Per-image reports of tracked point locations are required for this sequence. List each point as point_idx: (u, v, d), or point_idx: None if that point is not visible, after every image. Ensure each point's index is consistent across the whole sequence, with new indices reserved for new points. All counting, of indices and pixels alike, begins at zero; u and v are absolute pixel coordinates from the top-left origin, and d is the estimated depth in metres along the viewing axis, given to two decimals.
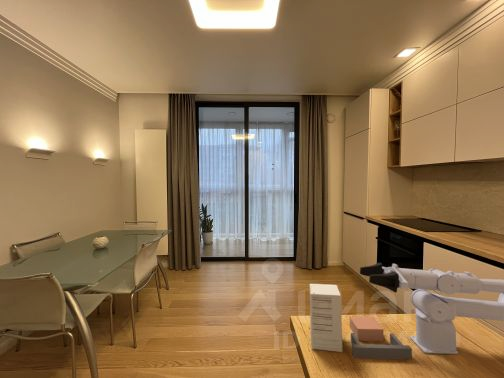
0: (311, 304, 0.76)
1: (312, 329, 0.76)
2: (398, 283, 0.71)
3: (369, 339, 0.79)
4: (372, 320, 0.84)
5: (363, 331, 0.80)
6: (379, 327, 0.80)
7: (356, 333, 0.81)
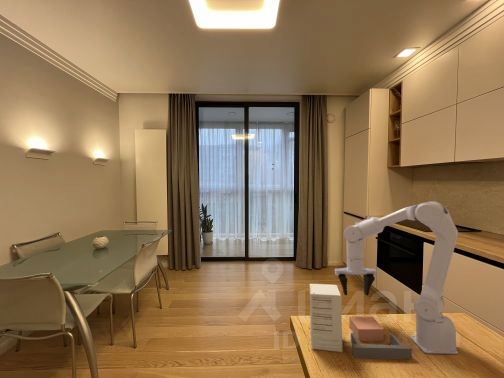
0: (311, 304, 0.76)
1: (312, 329, 0.76)
2: (338, 275, 0.93)
3: (369, 339, 0.79)
4: (371, 320, 0.85)
5: (363, 331, 0.79)
6: (379, 327, 0.80)
7: (356, 333, 0.81)
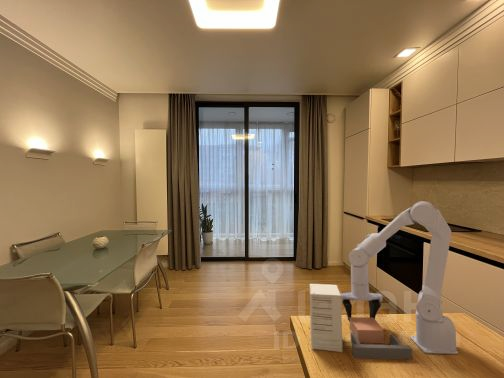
0: (311, 304, 0.76)
1: (312, 329, 0.76)
2: None
3: (369, 340, 0.78)
4: (372, 321, 0.83)
5: (363, 332, 0.79)
6: (380, 328, 0.79)
7: (356, 334, 0.80)
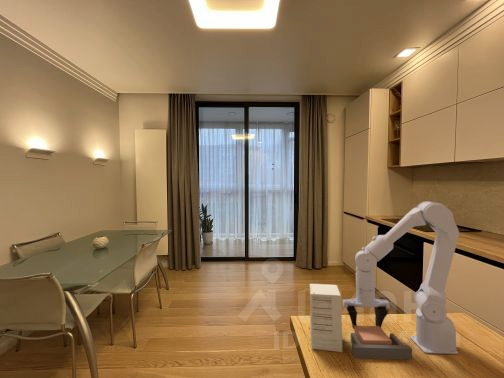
0: (311, 304, 0.76)
1: (312, 329, 0.76)
2: None
3: None
4: (378, 330, 0.79)
5: (369, 342, 0.74)
6: (387, 338, 0.74)
7: None
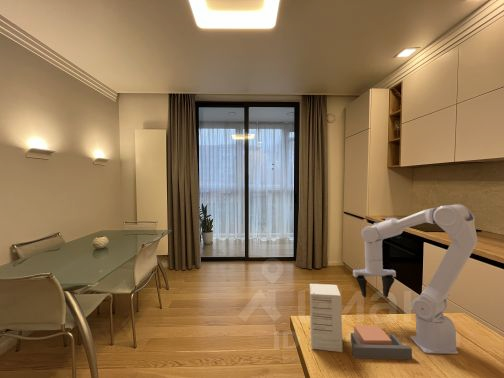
0: (311, 304, 0.76)
1: (312, 329, 0.76)
2: None
3: None
4: (378, 330, 0.79)
5: (370, 342, 0.73)
6: (387, 338, 0.74)
7: None
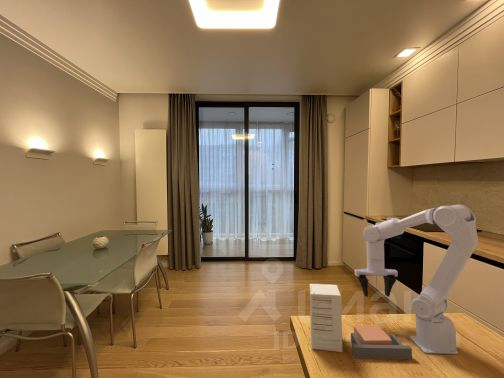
0: (311, 304, 0.76)
1: (312, 329, 0.76)
2: (358, 276, 0.92)
3: None
4: (378, 330, 0.79)
5: (370, 342, 0.73)
6: (387, 338, 0.74)
7: None
